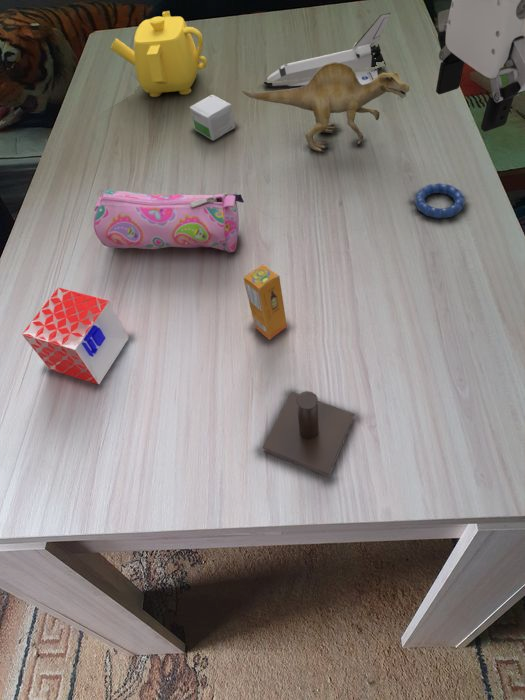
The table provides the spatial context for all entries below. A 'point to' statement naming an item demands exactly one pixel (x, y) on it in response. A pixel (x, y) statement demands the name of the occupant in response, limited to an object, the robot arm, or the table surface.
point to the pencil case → (167, 220)
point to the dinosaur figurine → (335, 97)
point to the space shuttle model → (337, 60)
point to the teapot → (164, 54)
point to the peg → (309, 433)
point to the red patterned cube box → (77, 335)
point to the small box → (212, 117)
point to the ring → (438, 212)
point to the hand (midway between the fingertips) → (469, 108)
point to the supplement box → (266, 301)
